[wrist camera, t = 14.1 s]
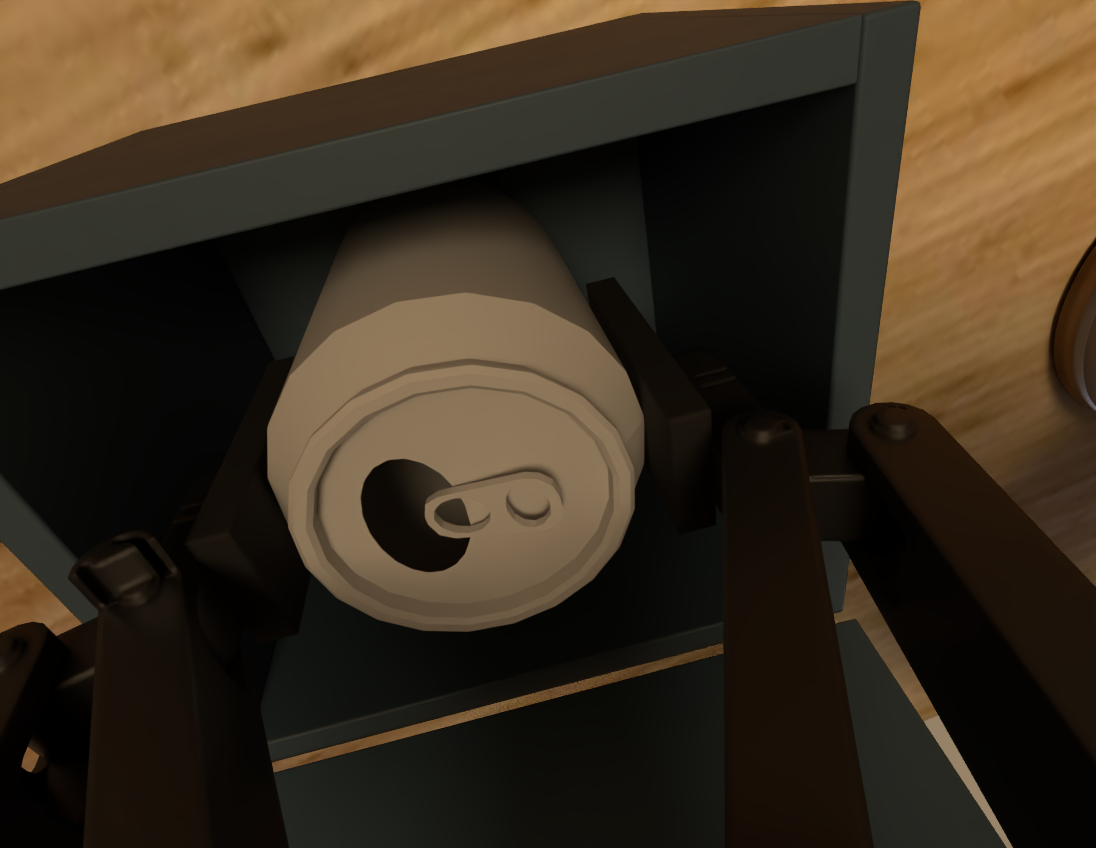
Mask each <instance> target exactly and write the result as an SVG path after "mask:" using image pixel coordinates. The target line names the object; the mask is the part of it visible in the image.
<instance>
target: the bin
mask: <svg viewBox="0 0 1096 848" xmlns="http://www.w3.org/2000/svg"><path fill="white" fill-rule="evenodd" d="M920 9H921V6H920V3H919V2H917V1H894V2H872V3H851V4H829V5H808V6H786V7H765V8H743V9H722V10H701V11H679V12H658V13H640V14H636V15H632V16H628V17H623V18H619V19H615V20H611V21H606V22H602V23H598V24H594V25H589V26H585V27H581V28H577V29H572V30H568V31H564V32H560V33H555V34H551V35H547V36H543V37H538V38H534V39H530V40H526V41H522V42H517V43H513V44H509V45H505V46H500V47H496V48H492V49H488V50H483V51H479V52H475V53H471V54H466V55H462V56H458V57H454V58H449V59H445V60H441V61H437V62H432V63H428V64H424V65H420V66H415V67H411V68H407V69H403V70H398V71H394V72H390V73H386V74H381V75H377V76H373V77H369V78H364V79H360V80H356V81H352V82H347V83H343V84H339V85H335V86H331V87H326V88H322V89H318V90H314V91H309V92H305V93H301V94H297V95H292V96H288V97H284V98H280V99H275V100H271V101H267V102H263V103H258V104H254V105H250V106H246V107H241V108H237V109H233V110H229V111H224V112H220V113H216V114H212V115H207V116H203V117H199V118H195V119H190V120H186V121H182V122H178V123H173V124H169V125H165V126H161V127H156V128H152V129H148V130H144V131H140V132H138V133H135V134H132V135H130V136H127V137H125V138H122V139H119V140H117V141H114V142H111V143H109V144H106V145H103V146H101V147H98V148H95V149H93V150H90V151H87V152H85V153H82V154H79V155H77V156H74V157H71V158H68V159H66V160H63V161H60V162H58V163H55V164H52V165H50V166H47V167H44V168H42V169H39V170H36V171H34V172H31V173H28V174H26V175H23V176H20V177H18V178H15V179H12V180H10V181H7V182H4V183H2V184H0V541H1V542H2V543H3V544H4V545H5V546H6V547H7V548H8V549H9V550H10V551H11V552H12V553H13V554H14V555H15V556H16V557H17V558H18V559H19V560H20V561H21V562H22V563H23V564H24V565H25V566H26V567H27V568H28V569H29V570H30V571H31V572H32V573H33V574H34V575H35V576H36V577H37V578H38V579H39V580H40V581H41V582H42V583H43V584H44V585H45V586H46V587H47V588H48V589H49V590H50V591H51V592H52V593H53V594H54V595H55V596H56V597H57V598H58V599H59V600H60V601H61V602H62V603H63V604H64V605H65V606H66V607H67V609H68V610H69V611H70V612H71V613H72V614H73V615H74V616H75V617H76V618H77V619H78V620H79V621H80V622H81V623H82V624H83V623H85V622H87V621H89V620H92V619H94V618H96V617H98V610H97V609H96V608H95V607H94V606H93V605H92V604H91V603H90V602H89V601H88V600H87V599H86V598H85V596H84V595H83V594H82V593H81V592H80V591H79V590H78V589H77V588H76V587H75V586H74V585H73V584H72V583H71V582H70V581H69V580H68V579H67V578H68V575H69V573H70V571H71V568H72V567H73V566H74V565H75V563H76V562H77V561H78V560H79V559H80V558H81V556H82V555H84V554H85V553H86V552H88V551H89V550H90V549H91V548H93V547H94V546H95V545H96V544H98V543H100V542H102V541H104V540H105V539H107V538H109V537H111V536H113V535H115V534H118V533H121V532H124V531H127V530H131V529H140V528H143V529H146V530H149V531H151V532H152V533H153V534H154V536H155V537H156V538H157V539H158V541H159V542H160V543H161V542H162V540H163V538H164V536H165V534H166V532H167V530H168V528H169V526H170V525H173V523H172V521H173V519H174V517H175V515H176V513H177V511H180V509H179V507H180V505H181V503H182V501H183V499H184V497H185V495H186V493H187V491H188V490H189V489H190V488H191V487H192V486H193V485H194V484H195V483H196V482H197V481H198V480H199V479H200V478H201V477H202V476H203V475H204V474H205V473H209V472H213V471H217V470H219V469H220V467H221V464H222V462H223V460H224V458H225V456H226V454H227V452H228V450H229V447H230V445H231V443H232V441H233V439H234V437H235V435H236V432H237V430H238V428H239V426H240V424H241V422H242V420H243V417H244V415H245V413H246V411H247V409H248V407H249V405H250V403H251V400H252V398H253V396H254V394H255V392H256V390H257V388H258V385H259V383H260V381H261V379H262V377H263V375H264V373H265V371H266V368H267V366H268V364H269V362H272V361H276V360H280V359H284V358H288V357H292V356H296V354H297V351H298V349H299V346H300V344H301V341H302V339H303V336H304V334H305V331H306V329H307V326H308V324H309V321H310V319H311V316H312V314H313V311H314V309H315V306H316V304H317V301H318V299H319V296H320V294H321V291H322V289H323V286H324V284H325V281H326V279H327V276H328V274H329V271H330V269H331V266H332V264H333V261H334V259H335V256H336V254H337V252H338V249H339V247H340V245H341V242H342V240H343V238H344V235H345V233H346V231H347V228H348V226H349V225H350V224H351V223H352V222H353V221H354V220H355V219H356V218H357V217H358V216H359V215H360V214H361V213H362V212H363V210H364V209H365V208H366V207H367V206H368V205H369V204H370V203H371V202H372V201H373V200H376V199H380V198H385V197H389V196H393V195H397V194H401V193H405V192H410V191H414V190H418V189H422V188H426V187H430V186H434V185H439V184H443V183H447V182H451V181H455V180H459V179H465V180H470V181H475V182H480V183H485V184H489V185H491V186H493V187H494V188H496V189H498V190H500V191H501V192H503V193H505V194H506V195H508V196H510V197H512V198H513V199H515V200H517V201H518V202H520V203H522V204H523V205H524V206H525V207H526V208H527V209H528V210H529V212H530V213H531V214H532V215H533V216H534V217H535V218H536V220H537V221H538V222H539V223H540V224H541V225H542V226H543V227H544V229H545V230H546V231H547V232H548V234H549V236H550V237H551V239H552V241H553V243H554V244H555V246H556V248H557V250H558V252H559V253H560V255H561V257H562V259H563V260H564V262H565V264H566V266H567V267H568V269H569V271H570V273H571V275H572V276H573V278H574V280H575V282H576V283H577V285H578V287H579V289H580V290H581V292H582V294H583V296H584V298H585V299H586V301H587V303H588V305H589V300H588V294H587V288H586V284H587V283H591V282H595V281H600V280H604V279H608V278H612V277H615V279H616V280H617V281H618V283H619V284H620V285H621V287H622V288H623V290H624V291H625V292H626V294H627V295H628V296H629V298H630V299H631V301H632V302H633V303H634V305H635V306H636V307H637V309H638V310H639V312H640V313H641V314H642V316H643V317H644V318H645V320H646V321H647V323H648V324H649V325H650V327H651V328H652V329H653V331H654V332H655V334H656V335H657V336H658V338H659V339H660V340H661V342H662V343H663V345H664V346H665V347H666V349H667V350H668V351H669V353H670V354H675V353H679V352H683V351H687V350H691V349H695V348H699V347H700V348H702V349H705V350H707V351H709V352H711V353H713V354H716V355H718V356H719V357H720V359H721V360H722V361H723V362H724V363H725V364H726V366H727V367H728V369H729V370H731V371H732V372H733V374H734V375H735V376H736V378H737V380H738V379H739V381H740V382H741V383H742V384H743V385H744V386H745V387H746V389H747V390H748V391H749V392H750V393H751V394H752V396H753V397H754V398H755V399H756V400H757V401H758V402H759V404H760V405H761V406H762V407H763V408H764V409H765V410H774V411H777V412H780V413H783V414H787V415H788V416H790V417H791V418H793V419H794V420H795V421H797V423H798V425H799V427H800V428H801V429H806V430H830V429H849V422H850V419H851V417H852V414H853V413H854V412H856V411H857V410H859V409H860V408H861V407H864V406H867V405H869V403H870V396H871V388H872V380H873V372H874V365H875V357H876V349H877V341H878V334H879V326H880V318H881V310H882V303H883V295H884V287H885V279H886V272H887V264H888V256H889V249H890V241H891V233H892V225H893V218H894V210H895V202H896V194H897V187H898V179H899V171H900V163H901V156H902V148H903V140H904V132H905V125H906V117H907V109H908V101H909V94H910V86H911V78H912V71H913V63H914V55H915V47H916V40H917V32H918V24H919V16H920ZM715 505H716V504H715ZM821 545H822V551H823V557H824V563H825V568H826V574H827V580H828V586H829V591H830V597H831V603H832V608H833V614H834V613H838V612H841V611H842V610H843V605H844V597H845V589H846V581H847V574H848V566H849V558H850V557H849V556H848V554H847V552H846V550H845V549H844V547H843V545H842V543H841V541H821ZM721 643H723V516H722V514H721V512H720V511H719V509H718V507H717V506H716V525H714V526H710V527H706V528H703V529H699V530H695V531H691V532H687V533H683V534H680V535H679V534H678V532H677V530H676V528H675V526H674V524H673V522H672V520H671V518H670V516H669V513H668V511H667V509H666V507H665V505H664V503H663V501H662V499H661V497H660V495H659V493H658V491H657V489H656V487H655V485H654V483H653V481H652V479H651V477H650V474H649V472H648V470H647V468H646V466H645V464H644V465H643V468H642V470H641V473H640V476H639V478H638V481H637V484H636V486H635V509H634V512H633V515H632V517H631V520H630V522H629V525H628V528H627V530H626V533H625V535H624V538H623V540H622V543H621V546H620V547H619V549H618V550H617V551H616V552H615V554H614V555H613V556H612V557H611V558H610V560H609V561H608V562H607V563H606V565H605V566H604V567H603V568H602V569H601V571H600V572H599V573H598V574H597V576H596V577H595V578H594V579H593V580H592V581H590V582H589V583H587V584H586V585H585V586H583V587H582V588H580V589H579V590H578V591H576V592H575V593H573V594H572V595H571V596H569V597H568V598H567V599H565V600H564V601H562V602H561V603H560V604H558V605H557V606H555V607H552V608H550V609H547V610H545V611H543V612H540V613H538V614H535V615H533V616H531V617H528V618H526V619H523V620H521V621H519V622H516V623H513V624H507V625H502V626H497V627H491V628H486V629H481V630H475V631H470V632H463V631H422V630H418V629H414V628H410V627H406V626H401V625H397V624H393V623H389V622H385V621H381V620H377V619H375V618H373V617H371V616H369V615H367V614H366V613H364V612H362V611H360V610H358V609H356V608H354V607H352V606H350V605H349V604H347V603H345V602H343V601H341V600H339V599H337V598H336V597H335V596H334V595H333V594H332V593H331V592H330V591H329V590H328V589H327V588H326V587H325V586H324V585H323V584H322V583H321V582H320V581H319V580H318V579H317V578H316V577H315V576H314V575H313V574H312V573H311V576H310V581H309V585H308V590H307V595H306V600H305V604H304V609H303V614H302V618H301V623H300V628H299V632H298V634H295V635H291V636H287V637H284V638H280V639H276V640H272V641H268V642H264V643H261V644H259V643H258V642H257V640H256V639H255V638H254V636H253V635H252V634H251V632H250V631H249V630H248V628H247V627H246V626H245V627H244V630H243V633H242V636H241V640H240V643H239V644H240V646H241V647H242V648H243V649H244V651H245V652H246V654H247V655H248V657H249V659H250V662H251V666H252V671H253V676H254V681H255V686H256V690H257V695H258V700H259V705H260V710H261V714H262V719H263V724H264V729H265V734H266V738H267V743H268V748H269V753H270V758H271V762H275V761H279V760H282V759H286V758H290V757H294V756H298V755H301V754H305V753H309V752H313V751H316V750H320V749H324V748H328V747H332V746H335V745H339V744H343V743H347V742H350V741H354V740H358V739H362V738H366V737H369V736H373V735H377V734H381V733H384V732H388V731H392V730H396V729H400V728H403V727H407V726H411V725H415V724H418V723H422V722H426V721H430V720H434V719H437V718H441V717H445V716H449V715H452V714H456V713H460V712H464V711H468V710H471V709H475V708H479V707H483V706H486V705H490V704H494V703H498V702H502V701H505V700H509V699H513V698H517V697H520V696H524V695H528V694H532V693H536V692H539V691H543V690H547V689H551V688H554V687H558V686H562V685H566V684H570V683H573V682H577V681H581V680H585V679H588V678H592V677H596V676H600V675H604V674H607V673H611V672H615V671H619V670H623V669H626V668H630V667H634V666H638V665H641V664H645V663H649V662H653V661H657V660H660V659H664V658H668V657H672V656H675V655H679V654H683V653H687V652H691V651H694V650H698V649H702V648H706V647H709V646H713V645H717V644H721Z"/></svg>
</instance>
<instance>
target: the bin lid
mask: <svg viewBox="0 0 1096 848" xmlns="http://www.w3.org/2000/svg"><path fill="white" fill-rule="evenodd" d="M835 626H836V631H837V637H838V643H839V648H840V654H841V660H842V666H843V671H844V677H845V683H846V689H847V694H848V700H849V706H850V711H851V717H852V723H853V729H854V734H855V740H856V746H857V752H858V757H859V763H860V769H861V774H862V780H863V786H864V792H865V797H866V803H867V809H868V815H869V820H870V826H871V832H872V837H873V843H874V848H1006V846H1005V844H1004V843H1003V842H1002V840H1001V838H1000V837H999V835H998V834H997V832H996V831H995V829H994V828H993V826H992V825H991V823H990V822H989V820H988V819H987V817H986V816H985V814H984V813H983V811H982V810H981V808H980V806H979V805H978V804H977V802H976V800H975V799H974V798H973V796H972V794H971V793H970V791H969V790H968V788H967V787H966V785H965V784H964V782H963V781H962V779H961V778H960V776H959V775H958V773H957V772H956V770H955V769H954V767H953V766H952V764H951V763H950V761H949V760H948V758H947V756H946V755H945V754H944V752H943V750H942V749H941V747H940V746H939V745H938V743H937V741H936V740H935V738H934V737H933V735H932V734H931V732H930V731H929V729H928V728H927V726H926V725H925V723H924V722H923V720H922V719H921V717H920V716H919V714H918V712H917V711H916V709H915V708H914V706H913V705H912V703H911V702H910V700H909V699H908V697H907V696H906V694H905V693H904V691H903V690H902V688H901V687H900V685H899V684H898V682H897V681H896V679H895V678H894V676H893V675H892V673H891V672H890V670H889V669H888V667H887V665H886V664H885V662H884V661H883V659H882V658H881V656H880V655H879V653H878V652H877V650H876V649H875V647H874V646H873V644H872V643H871V641H870V640H869V638H868V637H867V635H866V634H865V632H864V631H863V629H862V628H861V626H860V625H859V623H858V622H857V620H856V619H852V620H848V621H844V622H841V623H837V624H835ZM274 777H275V782H276V786H277V791H278V796H279V801H280V806H281V810H282V815H283V820H284V825H285V830H286V834H287V839H288V844H289V848H725V783H724V654H720V655H716V656H712V657H709V658H705V659H701V660H697V661H694V662H690V663H686V664H682V665H678V666H675V667H671V668H667V669H663V670H660V671H656V672H652V673H648V674H645V675H641V676H637V677H633V678H629V679H626V680H622V681H618V682H614V683H611V684H607V685H603V686H599V687H596V688H592V689H588V690H584V691H580V692H577V693H573V694H569V695H565V696H562V697H558V698H554V699H550V700H546V701H543V702H539V703H535V704H531V705H528V706H524V707H520V708H516V709H513V710H509V711H505V712H501V713H497V714H494V715H490V716H486V717H482V718H479V719H475V720H471V721H467V722H463V723H460V724H456V725H452V726H448V727H445V728H441V729H437V730H433V731H430V732H426V733H422V734H418V735H414V736H411V737H407V738H403V739H399V740H396V741H392V742H388V743H384V744H380V745H377V746H373V747H369V748H365V749H362V750H358V751H354V752H350V753H347V754H343V755H339V756H335V757H331V758H328V759H324V760H320V761H316V762H313V763H309V764H305V765H301V766H298V767H294V768H290V769H286V770H282V771H279V772H275V773H274Z"/></svg>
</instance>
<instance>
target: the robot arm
mask: <svg viewBox="0 0 1096 848" xmlns="http://www.w3.org/2000/svg"><path fill="white" fill-rule="evenodd" d="M586 288H587V294H588V300H589V306H590V308H591V310H592V312H593V314H594V315H595V317H596V319H597V321H598V322H599V324H600V326H601V328H602V329H603V331H604V333H605V335H606V337H607V338H608V340H609V342H610V344H611V345H612V347H613V349H614V351H615V353H616V354H617V356H618V358H619V360H620V361H621V363H622V365H623V367H624V368H625V370H626V372H627V375H628V377H629V380H630V382H631V385H632V387H633V390H634V392H635V395H636V397H637V400H638V402H639V405H640V407H641V410H642V412H643V416H644V464H645V466H646V468H647V470H648V472H649V474H650V477H651V479H652V481H653V483H654V485H655V487H656V489H657V491H658V493H659V495H660V497H661V499H662V501H663V503H664V505H665V507H666V509H667V511H668V513H669V516H670V518H671V520H672V522H673V524H674V526H675V528H676V530H677V532H678V534H679V535H680V534H683V533H687V532H691V531H695V530H699V529H703V528H706V527H710V526H714V525H716V506H717V507H718V509H719V511H720V512H721V514H722V516H723V647H724V783H725V848H874V843H873V837H872V832H871V826H870V820H869V815H868V809H867V803H866V797H865V792H864V786H863V780H862V774H861V769H860V763H859V757H858V752H857V746H856V740H855V734H854V729H853V723H852V717H851V711H850V706H849V700H848V694H847V689H846V683H845V677H844V671H843V666H842V660H841V654H840V648H839V643H838V637H837V631H836V626H835V620H834V614H833V608H832V603H831V597H830V591H829V586H828V580H827V574H826V568H825V563H824V557H823V551H822V545H821V541H841V543H842V545H843V547H844V549H845V550H846V552H847V554H848V556H849V557H850V559H851V561H852V563H853V565H854V566H855V568H856V570H857V572H858V573H859V575H860V577H861V579H862V581H863V582H864V584H865V586H866V588H867V589H868V591H869V593H870V595H871V596H872V598H873V600H874V602H875V604H876V605H877V607H878V609H879V611H880V612H881V614H882V616H883V618H884V620H885V621H886V623H887V625H888V627H889V628H890V630H891V632H892V634H893V636H894V637H895V639H896V641H897V643H898V644H899V646H900V648H901V650H902V651H903V653H904V655H905V657H906V659H907V660H908V662H909V664H910V666H911V667H912V669H913V671H914V673H915V675H916V676H917V678H918V680H919V682H920V683H921V685H922V687H923V689H924V691H925V692H926V694H927V696H928V698H929V699H930V701H931V703H932V705H933V706H934V708H935V710H936V712H937V714H938V715H939V717H940V719H941V721H942V722H943V724H944V726H945V728H946V730H947V731H948V733H949V735H950V737H951V738H952V740H953V742H954V744H955V745H956V747H957V749H958V751H959V753H960V754H961V756H962V758H963V760H964V761H965V763H966V765H967V767H968V768H969V770H970V772H971V774H972V776H973V777H974V779H975V781H976V783H977V784H978V786H979V788H980V790H981V792H982V793H983V795H984V797H985V799H986V801H987V802H988V804H989V806H990V808H991V809H992V811H993V813H994V815H995V816H996V818H997V820H998V822H999V824H1000V825H1001V827H1002V829H1003V830H1004V832H1005V834H1006V836H1007V838H1008V840H1009V841H1010V843H1011V845H1012V847H1013V848H1096V587H1095V586H1094V585H1093V584H1092V583H1091V582H1090V581H1089V580H1088V579H1087V577H1086V576H1085V575H1084V574H1083V573H1082V572H1081V571H1080V570H1079V569H1078V568H1077V567H1076V566H1075V565H1074V564H1073V563H1072V562H1071V561H1070V560H1069V559H1068V558H1067V556H1066V555H1065V554H1064V553H1063V552H1062V551H1061V550H1060V549H1059V548H1058V547H1057V546H1056V545H1055V544H1054V543H1053V542H1052V541H1051V540H1050V539H1049V538H1048V537H1047V535H1046V534H1045V533H1044V532H1043V531H1042V530H1041V529H1040V528H1039V527H1038V526H1037V525H1036V524H1035V523H1034V522H1033V521H1032V520H1031V519H1030V518H1029V517H1028V516H1027V515H1026V513H1025V512H1024V511H1023V510H1022V509H1021V508H1020V507H1019V506H1018V505H1017V504H1016V503H1015V502H1014V501H1013V500H1012V499H1011V498H1010V497H1009V496H1008V495H1007V494H1006V492H1005V491H1004V490H1003V489H1002V488H1001V487H1000V486H999V485H998V484H997V483H996V482H995V481H994V480H993V479H992V478H991V477H990V476H989V475H988V474H987V473H986V471H985V470H984V469H983V468H982V467H981V466H980V465H979V464H978V463H977V462H976V461H975V460H974V459H973V458H972V457H971V456H970V455H969V454H968V453H967V452H966V451H965V449H964V448H963V447H962V446H961V445H960V444H959V443H958V442H957V441H956V440H955V439H954V438H953V437H952V436H951V435H950V434H949V433H948V432H947V431H946V430H945V428H944V427H943V426H942V425H941V424H940V423H939V422H938V421H937V420H936V419H935V418H934V417H932V416H931V415H930V414H928V413H927V412H925V411H924V410H922V409H919V408H916V407H913V406H911V405H907V404H901V403H893V402H888V403H874V404H871V405H867V406H864V407H861V408H860V409H859V410H857V411H856V412H854V413H853V414H852V417H851V419H850V422H849V429H830V430H806V429H801V428H800V427H799V425H798V423H797V421H795V420H794V419H793V418H791V417H790V416H788V415H787V414H783V413H780V412H777V411H774V410H765V409H764V408H763V407H762V406H761V405H760V404H759V402H758V401H757V400H756V399H755V398H754V397H753V396H752V394H751V393H750V392H749V391H748V390H747V389H746V387H745V386H744V385H743V384H742V383H741V382H740V381H739V379H738V380H737V378H736V376H735V375H734V374H733V372H732V371H731V370H729V369H728V367H727V366H726V364H725V363H724V362H723V361H722V360H721V359H720V357H719V356H718V355H716V354H713V353H711V352H709V351H707V350H705V349H702V348H700V347H699V348H695V349H691V350H687V351H683V352H679V353H675V354H670V353H669V351H668V350H667V349H666V347H665V346H664V345H663V343H662V342H661V340H660V339H659V338H658V336H657V335H656V334H655V332H654V331H653V329H652V328H651V327H650V325H649V324H648V323H647V321H646V320H645V318H644V317H643V316H642V314H641V313H640V312H639V310H638V309H637V307H636V306H635V305H634V303H633V302H632V301H631V299H630V298H629V296H628V295H627V294H626V292H625V291H624V290H623V288H622V287H621V285H620V284H619V283H618V281H617V280H616V279H615V277H612V278H608V279H604V280H600V281H595V282H591V283H587V284H586ZM294 359H295V356H292V357H288V358H284V359H280V360H276V361H272V362H269V364H268V366H267V368H266V371H265V373H264V375H263V377H262V379H261V381H260V383H259V385H258V388H257V390H256V392H255V394H254V396H253V398H252V400H251V403H250V405H249V407H248V409H247V411H246V413H245V415H244V417H243V420H242V422H241V424H240V426H239V428H238V430H237V432H236V435H235V437H234V439H233V441H232V443H231V445H230V447H229V450H228V452H227V454H226V456H225V458H224V460H223V462H222V464H221V467H220V469H219V470H217V471H213V472H209V473H205V474H204V475H203V476H202V477H201V478H200V479H199V480H198V481H197V482H196V483H195V484H194V485H193V486H192V487H191V488H190V489H189V490H188V491H187V493H186V495H185V497H184V499H183V501H182V503H181V505H180V507H179V509H180V511H177V513H176V515H175V517H174V519H173V521H172V523H173V525H170V526H169V528H168V530H167V532H166V534H165V536H164V538H163V540H162V542H161V543H160V542H159V541H158V539H157V538H156V537H155V536H154V534H153V533H152V532H151V531H149V530H146V529H143V528H140V529H131V530H127V531H124V532H121V533H118V534H115V535H113V536H111V537H109V538H107V539H105V540H104V541H102V542H100V543H98V544H96V545H95V546H94V547H93V548H91V549H90V550H89V551H88V552H86V553H85V554H84V555H82V556H81V558H80V559H79V560H78V561H77V562H76V563H75V565H74V566H73V567H72V568H71V571H70V573H69V575H68V578H67V579H68V580H69V581H70V582H71V583H72V584H73V585H74V586H75V587H76V588H77V589H78V590H79V591H80V592H81V593H82V594H83V595H84V596H85V598H86V599H87V600H88V601H89V602H90V603H91V604H92V605H93V606H94V607H95V608H96V609H97V610H98V617H96V618H94V619H92V620H89V621H87V622H85V623H83V624H81V625H79V626H77V627H75V628H73V629H70V630H68V631H66V632H64V633H62V634H60V635H58V636H56V635H55V634H54V633H53V632H52V631H51V630H50V629H49V628H47V627H46V626H45V625H44V624H43V623H37V622H30V623H25V624H21V625H17V626H15V627H13V628H11V629H9V630H6V631H4V632H1V633H0V848H289V844H288V839H287V834H286V830H285V825H284V820H283V815H282V810H281V806H280V801H279V796H278V791H277V786H276V782H275V777H274V772H273V767H272V762H271V758H270V753H269V748H268V743H267V738H266V734H265V729H264V724H263V719H262V714H261V710H260V705H259V700H258V695H257V690H256V686H255V681H254V676H253V671H252V666H251V662H250V659H249V657H248V655H247V654H246V652H245V651H244V649H243V648H242V647H241V646H240V644H239V643H240V640H241V636H242V633H243V630H244V627H245V626H246V627H247V628H248V630H249V631H250V632H251V634H252V635H253V636H254V638H255V639H256V640H257V642H258V643H259V644H261V643H264V642H268V641H272V640H276V639H280V638H284V637H287V636H291V635H295V634H298V632H299V628H300V623H301V618H302V614H303V609H304V604H305V600H306V595H307V590H308V585H309V581H310V576H311V572H310V571H309V570H308V569H307V568H306V567H305V565H304V563H303V561H302V558H301V556H300V554H299V551H298V549H297V547H296V545H295V542H294V540H293V538H292V535H291V533H290V531H289V528H288V523H287V521H286V519H285V517H284V515H283V512H282V510H281V508H280V505H279V503H278V501H277V498H276V496H275V494H274V492H273V489H272V487H271V485H270V482H269V480H268V447H267V427H268V424H269V422H270V419H271V417H272V414H273V412H274V409H275V407H276V404H277V402H278V399H279V397H280V394H281V392H282V389H283V387H284V384H285V382H286V379H287V377H288V374H289V372H290V369H291V367H292V364H293V361H294ZM1054 362H1055V368H1056V372H1057V375H1058V377H1059V380H1060V382H1061V384H1062V385H1063V387H1064V389H1065V390H1066V391H1067V392H1068V393H1069V394H1070V395H1071V396H1072V397H1073V398H1074V399H1076V400H1077V401H1078V402H1080V403H1082V404H1084V405H1085V406H1087V407H1089V408H1090V409H1092V410H1094V411H1096V245H1095V247H1094V248H1093V250H1092V251H1091V252H1090V254H1089V256H1088V257H1087V259H1086V260H1085V262H1084V264H1083V265H1082V267H1081V269H1080V270H1079V272H1078V274H1077V276H1076V278H1075V280H1074V282H1073V283H1072V285H1071V288H1070V290H1069V292H1068V294H1067V297H1066V299H1065V301H1064V304H1063V307H1062V310H1061V313H1060V316H1059V320H1058V324H1057V327H1056V333H1055V339H1054ZM715 504H716V505H715ZM27 747H29V748H30V749H32V750H33V751H34V752H36V753H37V754H38V755H40V756H39V758H38V761H37V763H36V766H35V768H34V769H33V771H32V772H28V771H26V770H25V769H23V768H22V767H21V766H22V761H23V757H24V754H25V752H26V749H27Z"/></svg>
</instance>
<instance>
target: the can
mask: <svg viewBox="0 0 1096 848" xmlns="http://www.w3.org/2000/svg"><path fill="white" fill-rule="evenodd" d="M267 447H268V480H269V482H270V485H271V487H272V489H273V492H274V494H275V496H276V498H277V501H278V503H279V505H280V508H281V510H282V512H283V515H284V517H285V519H286V521H287V523H288V528H289V531H290V533H291V535H292V538H293V540H294V542H295V545H296V547H297V549H298V551H299V554H300V556H301V558H302V561H303V563H304V565H305V567H306V568H307V569H308V570H309V571H310V572H311V573H312V574H313V575H314V576H315V577H316V578H317V579H318V580H319V581H320V582H321V583H322V584H323V585H324V586H325V587H326V588H327V589H328V590H329V591H330V592H331V593H332V594H333V595H334V596H335V597H336V598H337V599H339V600H341V601H343V602H345V603H347V604H349V605H350V606H352V607H354V608H356V609H358V610H360V611H362V612H364V613H366V614H367V615H369V616H371V617H373V618H375V619H377V620H381V621H385V622H389V623H393V624H397V625H401V626H406V627H410V628H414V629H418V630H422V631H463V632H470V631H475V630H481V629H486V628H491V627H497V626H502V625H507V624H513V623H516V622H519V621H521V620H523V619H526V618H528V617H531V616H533V615H535V614H538V613H540V612H543V611H545V610H547V609H550V608H552V607H555V606H557V605H558V604H560V603H561V602H562V601H564V600H565V599H567V598H568V597H569V596H571V595H572V594H573V593H575V592H576V591H578V590H579V589H580V588H582V587H583V586H585V585H586V584H587V583H589V582H590V581H592V580H593V579H594V578H595V577H596V576H597V574H598V573H599V572H600V571H601V569H602V568H603V567H604V566H605V565H606V563H607V562H608V561H609V560H610V558H611V557H612V556H613V555H614V554H615V552H616V551H617V550H618V549H619V547H620V546H621V543H622V540H623V538H624V535H625V533H626V530H627V528H628V525H629V522H630V520H631V517H632V515H633V512H634V509H635V486H636V484H637V481H638V478H639V476H640V473H641V470H642V468H643V465H644V416H643V412H642V410H641V407H640V405H639V402H638V400H637V397H636V395H635V392H634V390H633V387H632V385H631V382H630V380H629V377H628V375H627V372H626V370H625V368H624V367H623V365H622V363H621V361H620V360H619V358H618V356H617V354H616V353H615V351H614V349H613V347H612V345H611V344H610V342H609V340H608V338H607V337H606V335H605V333H604V331H603V329H602V328H601V326H600V324H599V322H598V321H597V319H596V317H595V315H594V314H593V312H592V310H591V308H590V306H589V305H588V303H587V301H586V299H585V298H584V296H583V294H582V292H581V290H580V289H579V287H578V285H577V283H576V282H575V280H574V278H573V276H572V275H571V273H570V271H569V269H568V267H567V266H566V264H565V262H564V260H563V259H562V257H561V255H560V253H559V252H558V250H557V248H556V246H555V244H554V243H553V241H552V239H551V237H550V236H549V234H548V232H547V231H546V230H545V229H544V227H543V226H542V225H541V224H540V223H539V222H538V221H537V220H536V218H535V217H534V216H533V215H532V214H531V213H530V212H529V210H528V209H527V208H526V207H525V206H524V205H523V204H522V203H520V202H518V201H517V200H515V199H513V198H512V197H510V196H508V195H506V194H505V193H503V192H501V191H500V190H498V189H496V188H494V187H493V186H491V185H489V184H485V183H480V182H475V181H470V180H465V179H459V180H455V181H451V182H447V183H443V184H439V185H434V186H430V187H426V188H422V189H418V190H414V191H410V192H405V193H401V194H397V195H393V196H389V197H385V198H380V199H376V200H373V201H372V202H371V203H370V204H369V205H368V206H367V207H366V208H365V209H364V210H363V212H362V213H361V214H360V215H359V216H358V217H357V218H356V219H355V220H354V221H353V222H352V223H351V224H350V225H349V226H348V228H347V231H346V233H345V235H344V238H343V240H342V242H341V245H340V247H339V249H338V252H337V254H336V256H335V259H334V261H333V264H332V266H331V269H330V271H329V274H328V276H327V279H326V281H325V284H324V286H323V289H322V291H321V294H320V296H319V299H318V301H317V304H316V306H315V309H314V311H313V314H312V316H311V319H310V321H309V324H308V326H307V329H306V331H305V334H304V336H303V339H302V341H301V344H300V346H299V349H298V351H297V354H296V356H295V359H294V361H293V364H292V367H291V369H290V372H289V374H288V377H287V379H286V382H285V384H284V387H283V389H282V392H281V394H280V397H279V399H278V402H277V404H276V407H275V409H274V412H273V414H272V417H271V419H270V422H269V424H268V427H267Z"/></svg>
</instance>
